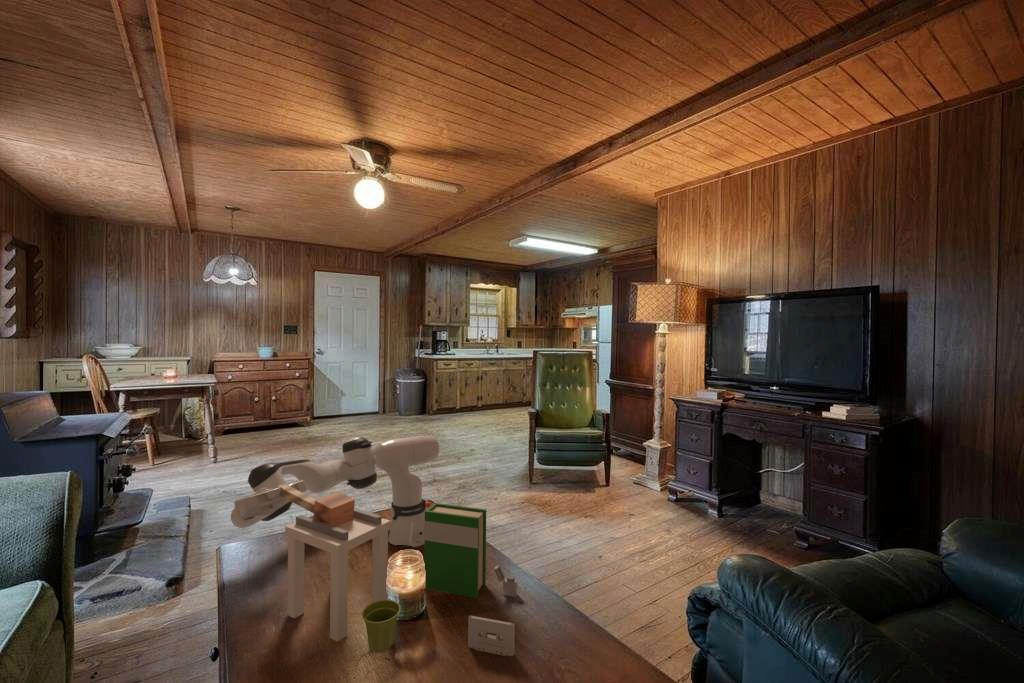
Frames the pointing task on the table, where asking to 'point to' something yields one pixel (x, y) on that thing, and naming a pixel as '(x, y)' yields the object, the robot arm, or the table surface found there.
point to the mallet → (323, 505)
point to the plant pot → (381, 623)
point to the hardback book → (455, 549)
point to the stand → (336, 561)
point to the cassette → (491, 636)
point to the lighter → (507, 583)
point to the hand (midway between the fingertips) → (286, 488)
